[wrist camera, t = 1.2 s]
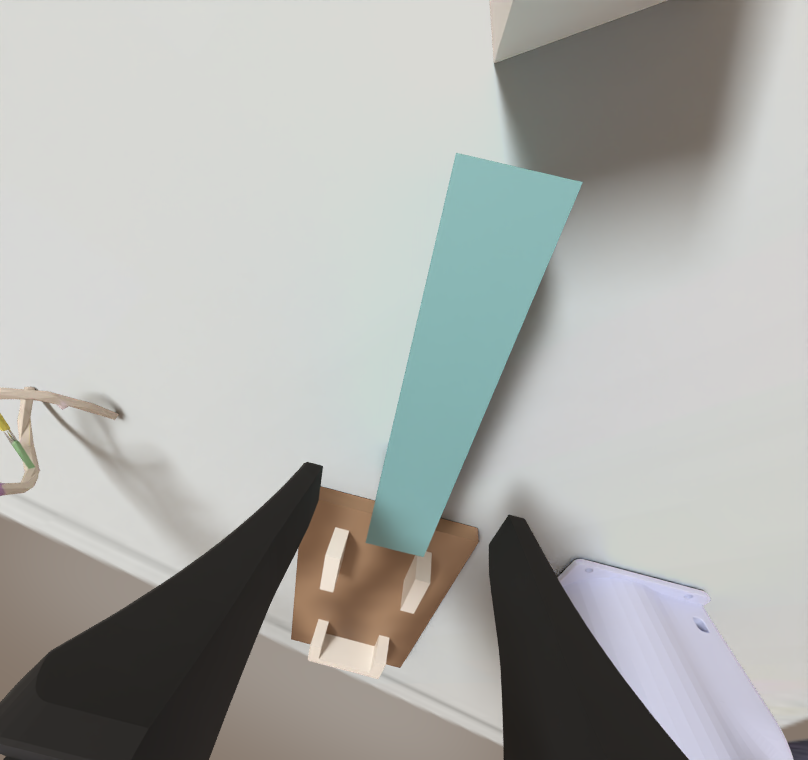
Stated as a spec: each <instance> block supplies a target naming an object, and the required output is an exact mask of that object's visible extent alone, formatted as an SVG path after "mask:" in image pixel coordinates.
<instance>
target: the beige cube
mask: <svg viewBox="0 0 808 760" xmlns="http://www.w3.org/2000/svg"><path fill="white" fill-rule="evenodd" d="M665 1H667V0H489V2H490V16H491V31H492V45H493V59H494V63H497V62H500V61H502V60H505V59H508V58H511V57H513V56H516V55H519V54H522V53H524V52H527V51H530V50H533V49H535V48H538V47H541V46H544V45H546V44H549V43H552V42H555V41H557V40H560V39H563V38H566V37H568V36H571V35H574V34H577V33H579V32H582V31H585V30H588V29H590V28H593V27H596V26H599V25H601V24H604V23H607V22H610V21H612V20H615V19H618V18H621V17H623V16H626V15H629V14H632V13H634V12H637V11H640V10H643V9H645V8H648V7H651V6H654V5H656V4H659V3H662V2H665Z"/></svg>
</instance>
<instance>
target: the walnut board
mask: <svg viewBox="0 0 808 760" xmlns="http://www.w3.org/2000/svg"><path fill="white" fill-rule="evenodd" d="M374 504H375V501H373V500H370V499H366V498H362V497H358V496H355V495H351V494H347V493H343V492H340V491H336V490H332V489H328V488H324V487H321V486H320V494H319V501H318V504H317V506H316V509H315V511H314V514H313V517H312V519H311V522H310V524H309V527H308V529H307V531H306V533H305V535H304V537H303V539H302V541H301V543H300V545H299V548H298V560H297V573H296V585H295V598H294V610H293V623H292V635H291V639H292V640H296V641H300V642H304V643H308V644H311V642H312V638H313V635H314V632H315V629H316V626H317V623H318V619H321V620H324V621H328V622H329V623H328V627H327V632H326V634H330V635H334V636H338V637H341V638H345V639H349V640H353V641H356V642H360V643H364V644H368V645H372V646H375V644H376V641H377V639H378V637H379V635H381V636H385V637H389V645H388V652H387V659H386V664H387V665H391V666H395V667H399V668H400V667H401V666H402V664H403V662H404V661H405V659H406V658H407V656H408V654H409V653H410V651H411V650H412V648H413V646H414V645H415V643H416V642H417V640H418V638H419V637H420V635H421V634H422V632H423V630H424V629H425V627H426V626H427V624H428V622H429V621H430V619H431V618H432V616H433V614H434V613H435V611H436V610H437V608H438V606H439V605H440V603H441V601H442V600H443V598H444V597H445V595H446V593H447V592H448V590H449V589H450V587H451V585H452V584H453V582H454V581H455V579H456V577H457V576H458V574H459V573H460V571H461V569H462V568H463V566H464V565H465V563H466V561H467V560H468V558H469V557H470V555H471V553H472V552H473V550H474V549H475V547H476V545H477V544H478V542H479V540H478V529H477V528H475V527H472V526H468V525H464V524H460V523H457V522H453V521H449V520H445V519H441V518H440V520H439V522H438V525H437V527H436V529H435V532H434V534H433V536H432V539H431V541H430V543H429V546H428V548H427V550H426V551H427V552H431V553H432V559H431V579H430V585H429V587H428V588H427V590H426V592H425V594H424V596H423V598H422V599H421V601H420V603H419V605H418V607H417V609H416V610H415V612H414V614H412V613H408V612H405V611H401V610H400V608H401V600H402V592H403V583H404V579H405V577H406V575H407V573H408V570H409V568H410V566H411V564H412V561H413V559H414V557H415V555H413V554H409V553H405V552H400V551H396V550H392V549H388V548H384V547H380V546H376V545H372V544H368V543H366V538H367V534H368V530H369V525H370V521H371V517H372V513H373V508H374ZM335 527H337V528H340V529H344V530H348V531H349V534H348V538H347V543H346V547H345V552H344V556H343V561H342V565H341V568H340V571H339V575H338V578H337V581H336V585H335V588H334V591H333V592H329V591H325V590H321V589H320V584H321V578H322V572H323V566H324V560H325V555H326V552H327V549H328V546H329V544H330V541H331V538H332V535H333V532H334V530H335Z"/></svg>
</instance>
